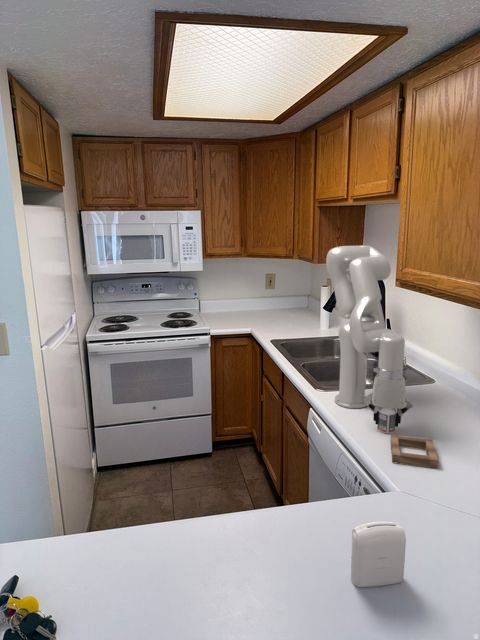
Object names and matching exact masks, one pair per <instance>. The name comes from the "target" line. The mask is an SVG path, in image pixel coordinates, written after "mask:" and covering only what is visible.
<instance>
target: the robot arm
mask: <svg viewBox="0 0 480 640" xmlns="http://www.w3.org/2000/svg"><path fill="white" fill-rule="evenodd" d="M325 262H326V263H325V264H326V265H325V266H326V270H327V273H328V275H329V278H330V280H331V283H332V286H333V289H334V290H333V291H334V296H335V301H336V305H337V310H338V313H339V316H340V318H341V319H344V320H349V322H345V323H344V324H342V325H341V326H339V330H338V341H339V350H340V351H339V352H340V359H339V360H340V361H339V384H338V385H339V389H338V394H336V396H334V402H335V403H336V404H337V405H338V406H340V407H343V408H346V409H361V408H365V407H367V406H368V408H369V409H370V410H371V411H372V413H373V418H372V419H373V422H374V424H375V425H376V426H378V409H379V407H383V408H393V409H396V428H399V425H400V424H401V421H402V416H403V415H404V414H405V413H407V411H408V410H410V409H412V408H413V407H414V405H413V403H412V402H411V401H410V399H409V398H408V397H407V396H406V393H407V391H406V390H407V389H406V378H405V377H404V376H403V372H404V371H403V369H404V360H405V359H404V358H405V344H406V343H405V342H406V341H405V338H404V337H403V336H402V335H399V334H397V333H395V332H394V331H393V330H391V329H390V328H387V327H386V322H385V317H384V313H383V308H382V304H381V301H382V293H381V288H380V286H379V282H378V281H384V280H387V279H388V278H389V277H390V275H391V274H392V273H391V272H392V271H391V270H392V269H391V264H390V262H389V260H388V258H387V257H386V256H385V255H384V254H383V253H381V252H380V251H378V250H377V249H376V248H374V247H373V246H371V245H366V244H365V245H342V246H341V245H340V246H336V247H333V248H330V250H328V252H327V255H326V261H325ZM347 269H348V270H347ZM362 319H365V320H362ZM375 352H378V360H377V361H378V362H377V363H378V364H377V367H373V373H376V374H375V376H374V380H373V384H372V385H373V386H372V392H371V393H370V394H369V395H367V396H365V395H366V379H367V378H366V377H367V357H366V356H367V355H365V354H366V353H367V354H369V353H375Z"/></svg>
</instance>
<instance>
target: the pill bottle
mask: <svg viewBox="0 0 480 640" xmlns="http://www.w3.org/2000/svg"><path fill="white" fill-rule="evenodd" d="M396 413H397V409H393V408H383V407H379V409H378V424H377V425H376V426H377V431H379V432H380V431H381V433H384V434H388V433H389V434H393V433H395V432H396V429H397V427H396Z"/></svg>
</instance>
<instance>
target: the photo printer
mask: <svg viewBox="0 0 480 640" xmlns="http://www.w3.org/2000/svg"><path fill="white" fill-rule="evenodd" d="M351 532H352V533H351V557H350V558H351V560H350V580H351V582H352V584H354V586H356V587H357V588H369V587H370V588H371V587H379V586H380V587H381V586H389V585H394V584H399V583H402V582H403V581H404V575H405V574H404V573H405V562H406V561H405V560H406V547H407V546H406V545H407V543H406V542H407V538H406V531H405V529H404V528H403V526H402V524H400V523H398V522H392V521H373V522H368V523H364V524H360V525H358V526H356V527H354V528H353V529H352V531H351Z"/></svg>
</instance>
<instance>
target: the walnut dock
mask: <svg viewBox="0 0 480 640" xmlns="http://www.w3.org/2000/svg"><path fill="white" fill-rule="evenodd" d="M389 441H390V442H389V443H390V450H391V454H392V455H391V462H392V463H393V462H397V463H396V464H400V463H402V464H401V465H407V464H408V465H409V466H415V467H424V468H431V469H438V466H439V465H438V464H439V459H438V456H437V452H436V447H435V444H434V442H433V439H430V438H429V439H428V438H420V437H411V436H403V435H394V434H391V435H390V440H389ZM400 447H401V448H409V449H417V450H424V451H425V453H426V455H425V454H417V453H409V452H403V451H402V452H400Z"/></svg>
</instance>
